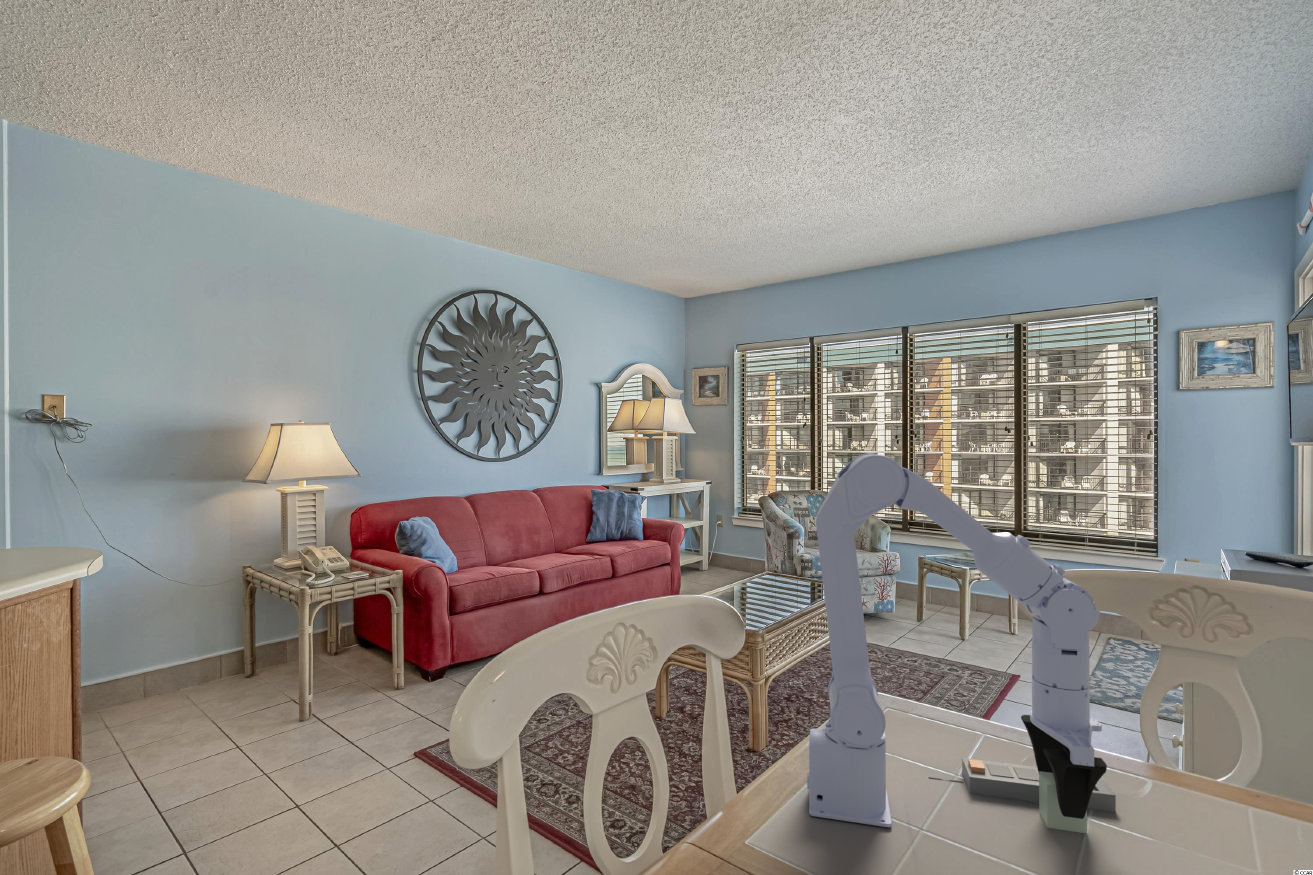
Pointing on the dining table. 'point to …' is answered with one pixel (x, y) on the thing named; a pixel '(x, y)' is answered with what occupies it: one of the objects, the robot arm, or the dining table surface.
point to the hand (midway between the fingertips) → (1060, 797)
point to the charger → (1056, 807)
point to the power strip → (1020, 783)
